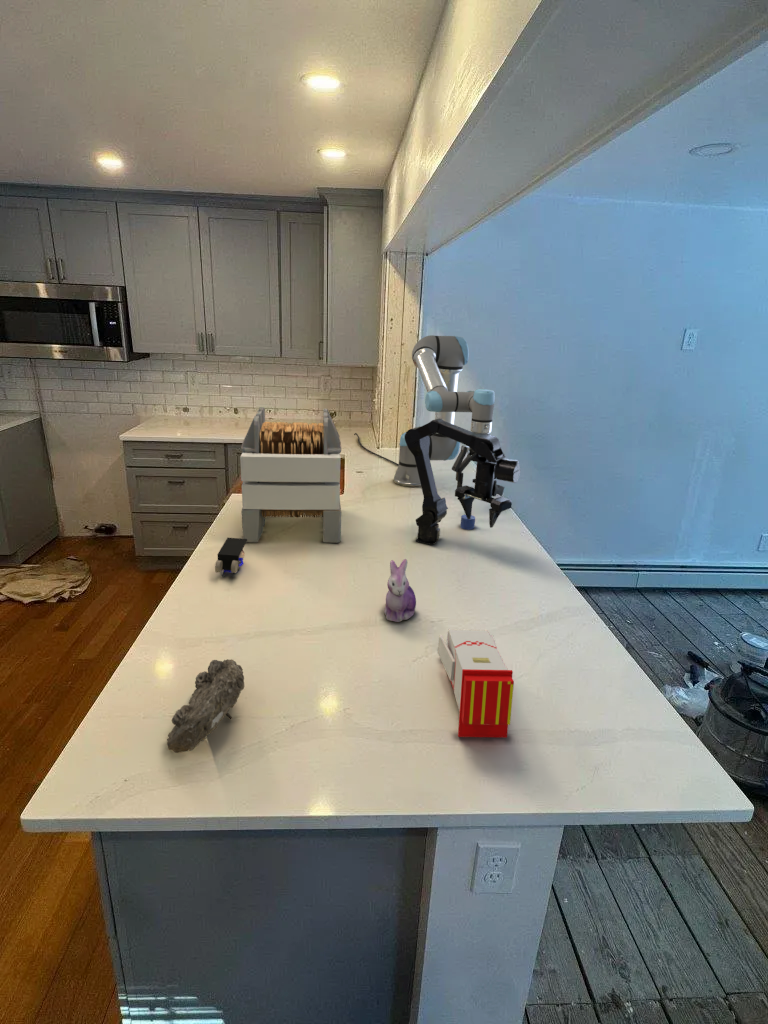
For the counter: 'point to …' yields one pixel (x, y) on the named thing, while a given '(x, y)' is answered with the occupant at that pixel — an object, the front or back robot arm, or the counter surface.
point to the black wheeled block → (230, 556)
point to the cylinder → (467, 522)
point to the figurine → (399, 594)
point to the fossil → (206, 705)
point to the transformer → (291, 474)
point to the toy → (478, 682)
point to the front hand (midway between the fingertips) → (479, 523)
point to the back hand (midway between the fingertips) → (475, 488)
